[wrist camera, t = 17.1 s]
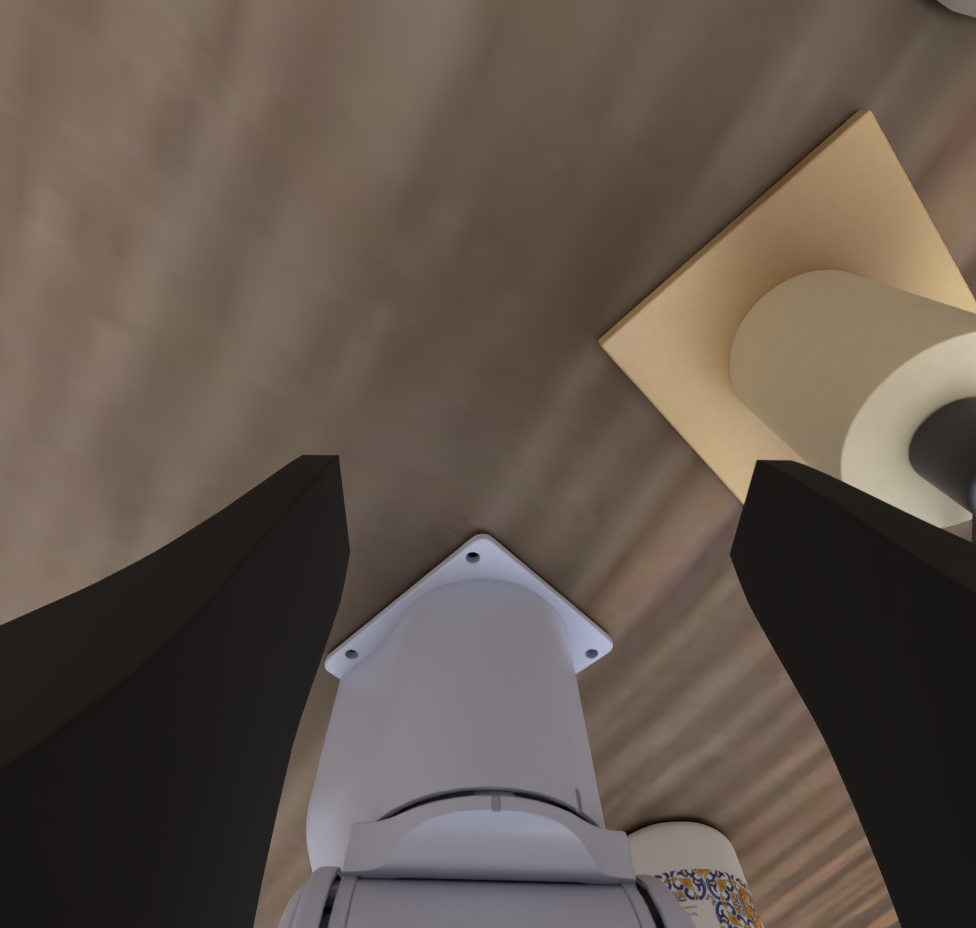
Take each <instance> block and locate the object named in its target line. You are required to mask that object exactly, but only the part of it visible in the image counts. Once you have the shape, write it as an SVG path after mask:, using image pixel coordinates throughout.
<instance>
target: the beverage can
mask: <svg viewBox="0 0 976 928" xmlns="http://www.w3.org/2000/svg"><path fill="white" fill-rule="evenodd" d="M937 1H938V2H940V3H941V4H943V5H944V6H946V7H947V8H948V9H950V10H951V11H953V12H957V13H961V14H965V15H968V16H972V17H976V0H937Z"/></svg>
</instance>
